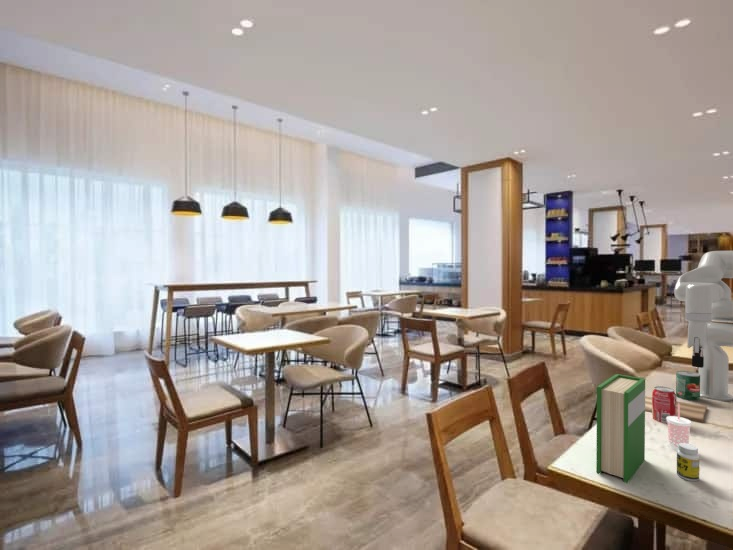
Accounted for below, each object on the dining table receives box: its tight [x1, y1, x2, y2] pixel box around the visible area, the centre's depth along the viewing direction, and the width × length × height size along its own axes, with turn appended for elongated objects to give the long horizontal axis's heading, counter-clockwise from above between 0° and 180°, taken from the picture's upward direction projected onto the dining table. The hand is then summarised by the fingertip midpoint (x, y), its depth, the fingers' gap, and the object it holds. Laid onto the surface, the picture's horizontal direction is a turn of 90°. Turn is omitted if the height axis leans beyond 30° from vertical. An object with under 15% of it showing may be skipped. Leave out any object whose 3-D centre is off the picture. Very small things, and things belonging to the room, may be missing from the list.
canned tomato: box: [675, 370, 701, 402], centre depth 165 cm, size 8×8×11 cm
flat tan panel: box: [645, 395, 652, 413], centre depth 157 cm, size 18×10×2 cm, turn 136°
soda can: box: [651, 385, 678, 424], centre depth 143 cm, size 7×7×12 cm
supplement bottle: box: [676, 443, 701, 482], centre depth 106 cm, size 5×5×8 cm
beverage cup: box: [666, 403, 693, 451], centre depth 122 cm, size 6×6×14 cm
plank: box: [676, 400, 708, 424], centre depth 149 cm, size 18×10×2 cm, turn 136°
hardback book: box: [595, 373, 646, 484], centre depth 112 cm, size 18×7×24 cm, turn 133°
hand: (697, 366), depth 146 cm, fingers closed
